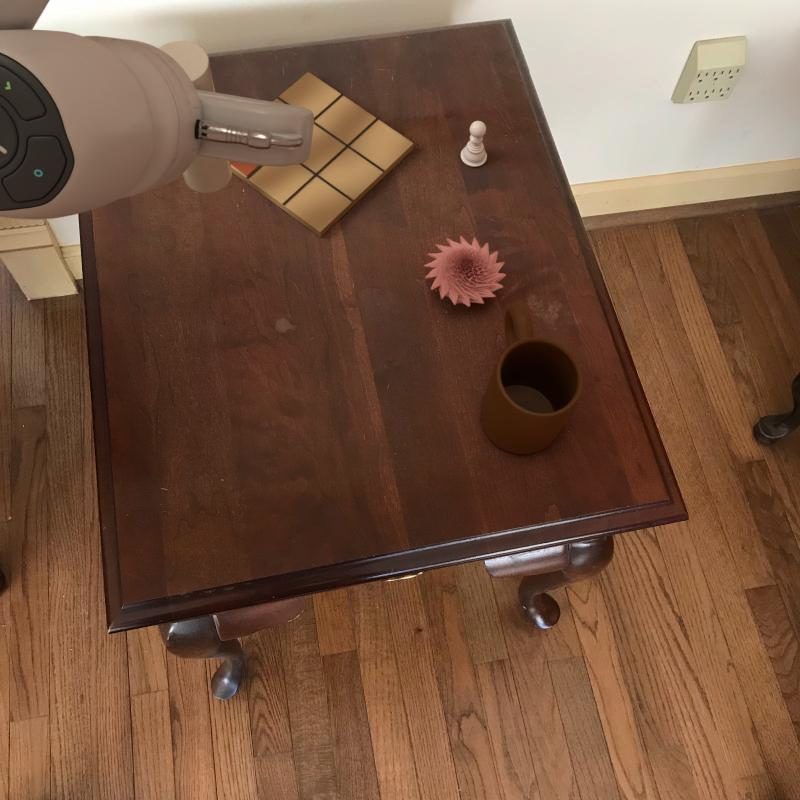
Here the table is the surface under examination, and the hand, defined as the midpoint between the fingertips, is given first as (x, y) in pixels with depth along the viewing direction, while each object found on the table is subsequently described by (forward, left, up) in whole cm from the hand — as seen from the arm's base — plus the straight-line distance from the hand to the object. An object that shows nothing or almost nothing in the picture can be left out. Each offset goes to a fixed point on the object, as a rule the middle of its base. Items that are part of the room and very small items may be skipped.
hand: (195, 110), depth 63 cm
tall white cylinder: (0, -1, -7) cm, 7 cm away
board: (-3, +16, -21) cm, 27 cm away
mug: (+30, +7, -22) cm, 37 cm away
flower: (+19, +13, -22) cm, 31 cm away
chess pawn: (+10, +27, -22) cm, 36 cm away
